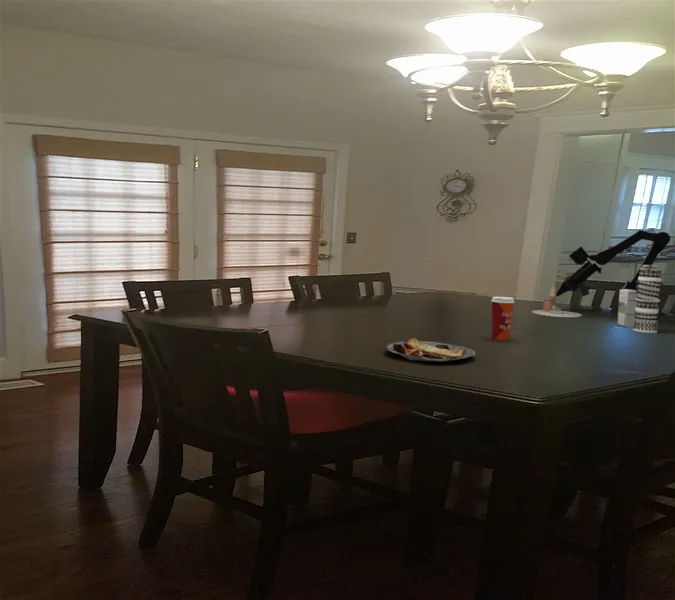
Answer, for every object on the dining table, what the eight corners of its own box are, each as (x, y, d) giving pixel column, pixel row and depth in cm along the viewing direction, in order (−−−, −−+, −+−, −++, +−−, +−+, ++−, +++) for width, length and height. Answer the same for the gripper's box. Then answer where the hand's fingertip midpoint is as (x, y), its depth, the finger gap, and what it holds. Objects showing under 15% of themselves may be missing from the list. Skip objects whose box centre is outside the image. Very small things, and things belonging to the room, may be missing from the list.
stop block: (550, 312, 295) (551, 302, 295) (544, 311, 295) (545, 302, 295) (548, 311, 298) (549, 301, 298) (543, 311, 298) (543, 301, 298)
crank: (560, 310, 289) (562, 289, 288) (554, 310, 289) (555, 289, 288) (553, 307, 301) (555, 286, 300) (547, 306, 301) (549, 286, 300)
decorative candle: (638, 332, 244) (644, 265, 241) (627, 328, 254) (633, 263, 251) (662, 333, 245) (669, 266, 242) (650, 329, 254) (656, 264, 251)
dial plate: (589, 318, 280) (589, 315, 279) (540, 316, 280) (540, 313, 280) (572, 311, 300) (572, 308, 300) (526, 309, 301) (526, 306, 300)
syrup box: (638, 327, 258) (641, 290, 256) (624, 327, 257) (627, 290, 255) (629, 325, 263) (632, 289, 262) (616, 324, 262) (619, 288, 261)
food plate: (370, 354, 186) (371, 342, 186) (412, 344, 205) (413, 333, 204) (448, 371, 171) (449, 358, 171) (487, 359, 190) (488, 347, 189)
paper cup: (505, 342, 214) (508, 299, 212) (484, 338, 219) (487, 297, 217) (516, 339, 220) (519, 298, 218) (495, 336, 225) (498, 295, 223)
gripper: (597, 288, 284) (568, 311, 289) (596, 284, 301) (568, 306, 306) (579, 268, 285) (551, 292, 290) (579, 266, 303) (552, 288, 308)
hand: (556, 295), depth 299 cm, fingers closed
